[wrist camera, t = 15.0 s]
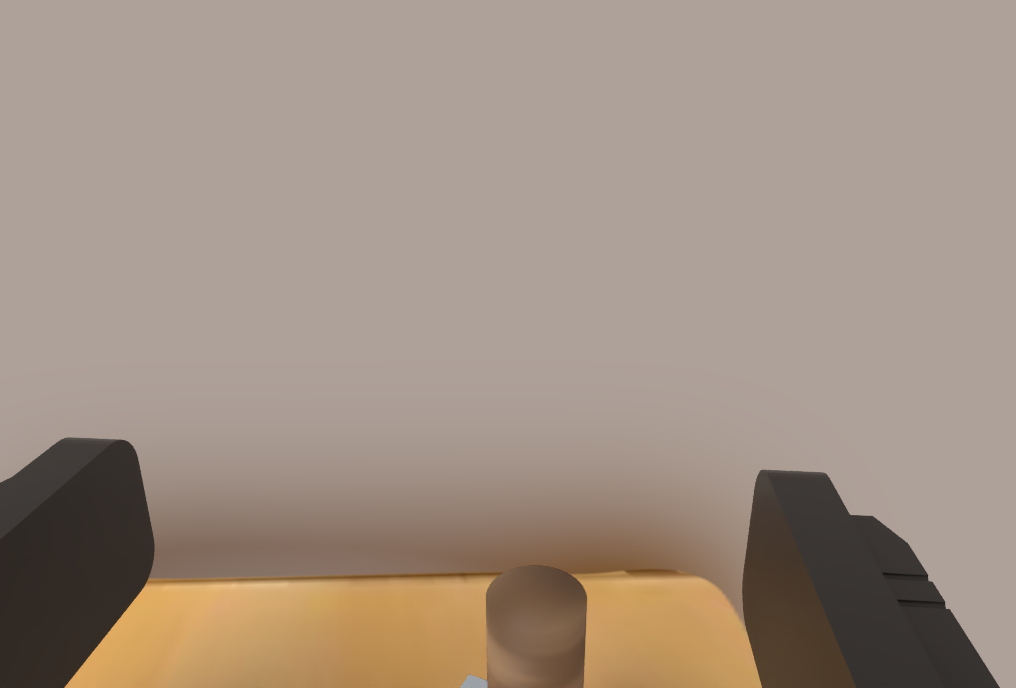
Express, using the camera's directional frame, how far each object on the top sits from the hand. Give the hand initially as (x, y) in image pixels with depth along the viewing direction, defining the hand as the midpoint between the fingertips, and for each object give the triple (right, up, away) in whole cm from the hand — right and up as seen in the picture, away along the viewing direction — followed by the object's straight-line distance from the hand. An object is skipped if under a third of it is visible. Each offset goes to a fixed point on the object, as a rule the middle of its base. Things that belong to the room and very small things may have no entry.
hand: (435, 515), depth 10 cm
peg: (+2, -22, +27) cm, 34 cm away
